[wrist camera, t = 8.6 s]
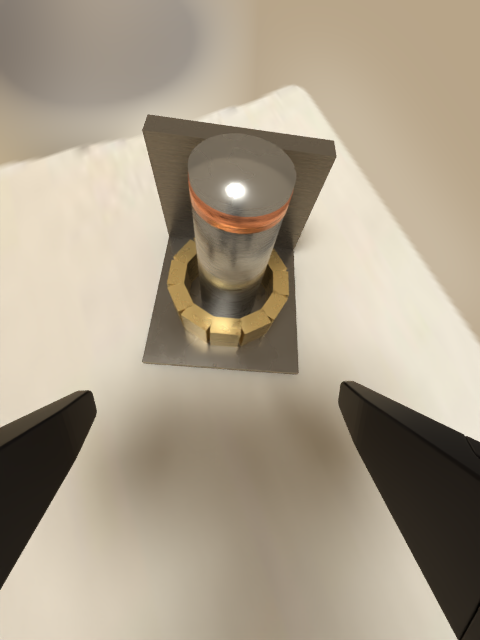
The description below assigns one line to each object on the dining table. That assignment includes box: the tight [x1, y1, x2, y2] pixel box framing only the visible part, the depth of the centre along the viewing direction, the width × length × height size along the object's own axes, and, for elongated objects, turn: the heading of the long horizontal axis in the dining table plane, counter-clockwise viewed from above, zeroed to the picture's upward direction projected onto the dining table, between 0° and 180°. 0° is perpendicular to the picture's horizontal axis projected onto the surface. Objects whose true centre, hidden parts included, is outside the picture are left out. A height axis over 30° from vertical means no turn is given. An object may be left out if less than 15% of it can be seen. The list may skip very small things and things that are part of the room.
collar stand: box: [142, 115, 336, 374], centre depth 17 cm, size 15×12×10 cm
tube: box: [188, 133, 296, 319], centre depth 15 cm, size 5×5×12 cm
